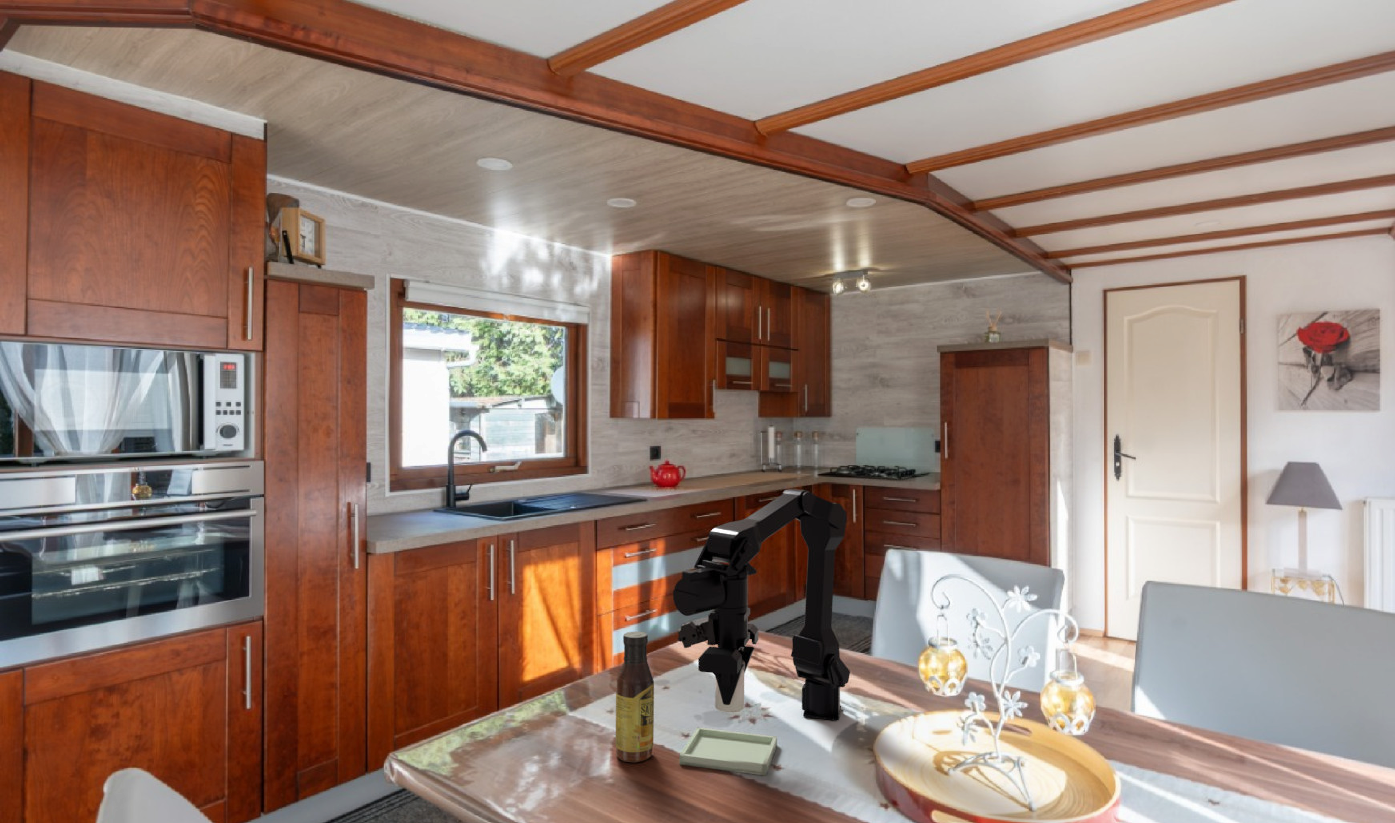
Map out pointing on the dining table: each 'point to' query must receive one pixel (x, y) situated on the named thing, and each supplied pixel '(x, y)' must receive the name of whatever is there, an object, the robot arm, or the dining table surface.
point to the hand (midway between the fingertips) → (730, 698)
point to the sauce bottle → (634, 701)
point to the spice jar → (738, 696)
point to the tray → (729, 751)
